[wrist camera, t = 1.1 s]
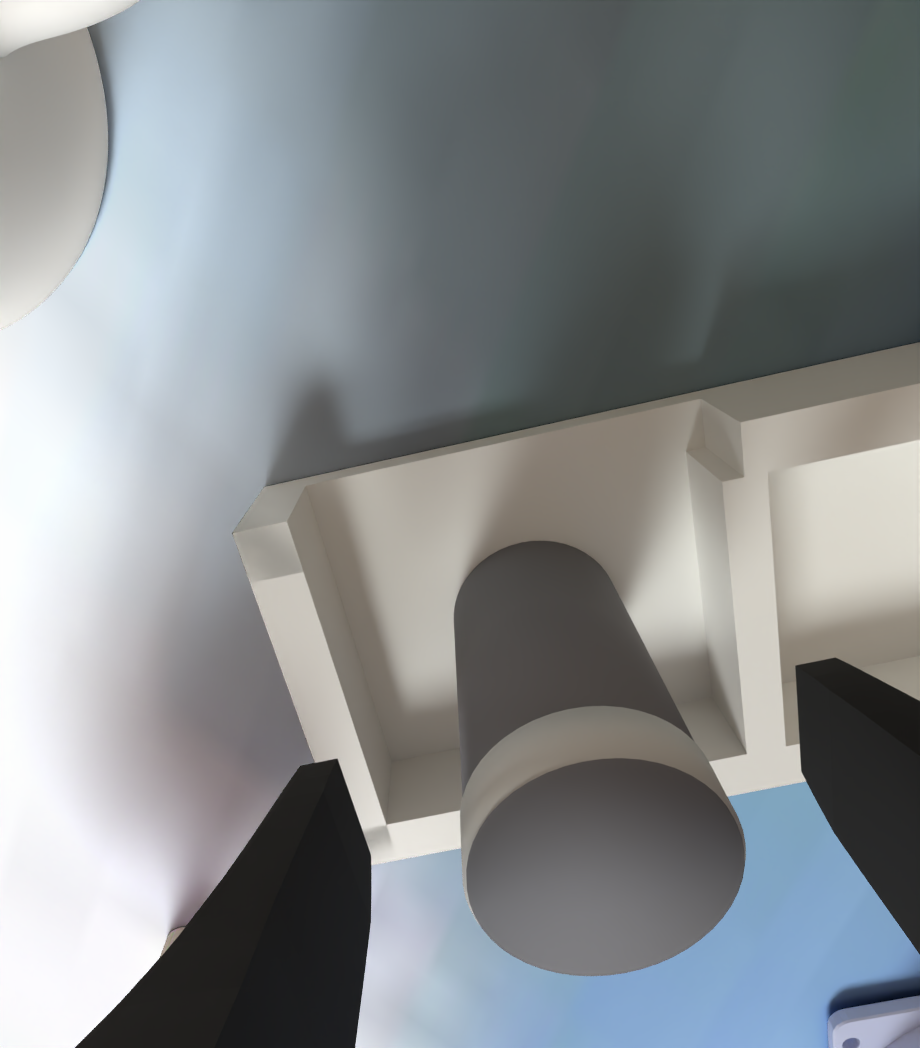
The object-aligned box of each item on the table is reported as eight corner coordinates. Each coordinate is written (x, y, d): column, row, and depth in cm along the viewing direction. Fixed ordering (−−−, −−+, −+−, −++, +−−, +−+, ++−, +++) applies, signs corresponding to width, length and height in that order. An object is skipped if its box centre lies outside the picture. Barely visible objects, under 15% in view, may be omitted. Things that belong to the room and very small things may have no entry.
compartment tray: (1365, 585, 17) (1616, 679, 13) (364, 785, 18) (345, 921, 15) (1468, 194, 14) (1829, 180, 10) (256, 464, 15) (200, 535, 12)
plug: (630, 670, 17) (758, 951, 10) (470, 703, 17) (493, 998, 10) (607, 521, 15) (737, 732, 9) (434, 559, 15) (433, 793, 9)
